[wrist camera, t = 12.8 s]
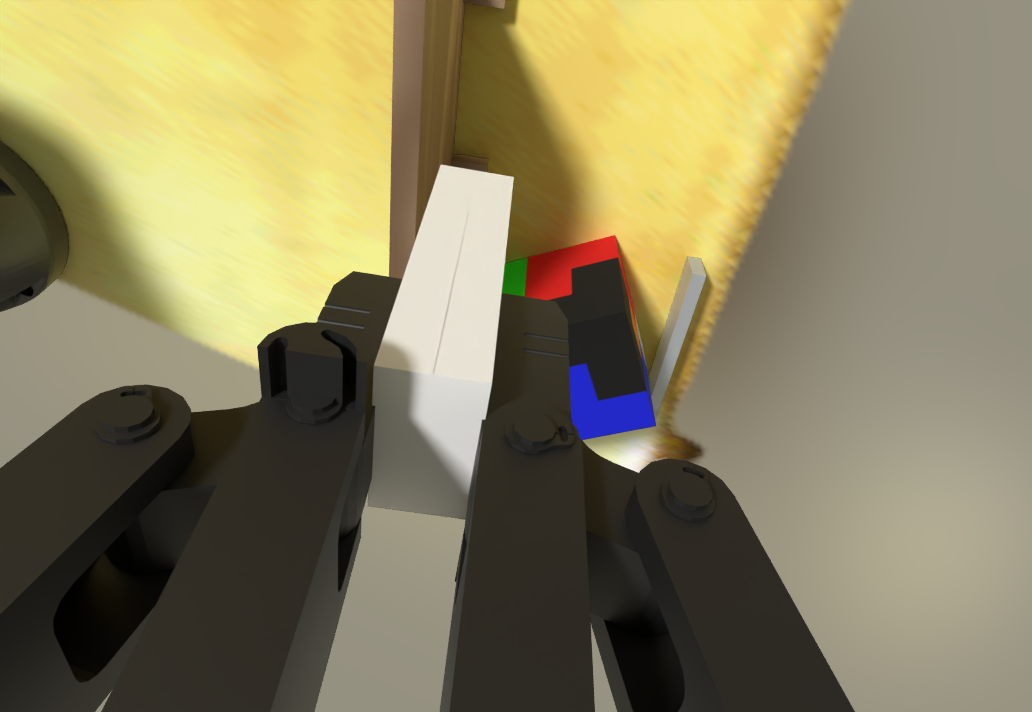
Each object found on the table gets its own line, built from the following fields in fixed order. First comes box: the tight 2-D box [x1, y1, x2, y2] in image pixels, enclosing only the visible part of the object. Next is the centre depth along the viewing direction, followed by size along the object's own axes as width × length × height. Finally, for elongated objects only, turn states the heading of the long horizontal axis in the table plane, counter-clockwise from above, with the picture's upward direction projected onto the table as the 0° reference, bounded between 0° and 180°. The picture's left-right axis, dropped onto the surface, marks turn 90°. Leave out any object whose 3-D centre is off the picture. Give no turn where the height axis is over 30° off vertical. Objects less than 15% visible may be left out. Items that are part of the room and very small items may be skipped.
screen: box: [389, 0, 506, 279], centre depth 37 cm, size 6×15×16 cm, turn 172°
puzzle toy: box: [502, 235, 656, 440], centre depth 49 cm, size 10×10×10 cm
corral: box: [648, 257, 706, 419], centre depth 53 cm, size 18×14×2 cm
